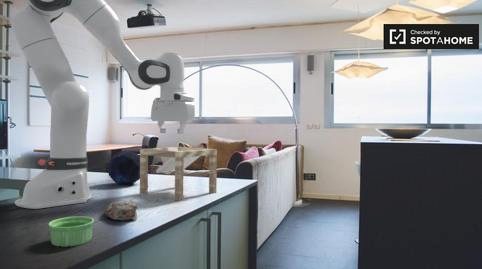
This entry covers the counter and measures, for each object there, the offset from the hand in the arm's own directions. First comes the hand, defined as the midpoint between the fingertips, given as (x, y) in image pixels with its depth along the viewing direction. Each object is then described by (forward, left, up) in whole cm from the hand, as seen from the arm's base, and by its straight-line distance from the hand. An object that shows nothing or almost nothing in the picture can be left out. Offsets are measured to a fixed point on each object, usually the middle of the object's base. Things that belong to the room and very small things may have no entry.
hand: (171, 133), depth 137 cm
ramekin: (-54, -25, -23) cm, 64 cm away
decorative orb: (0, +27, -23) cm, 35 cm away
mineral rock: (-35, -16, -23) cm, 45 cm away
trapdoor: (0, -5, -11) cm, 12 cm away
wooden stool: (0, -4, -22) cm, 23 cm away
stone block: (0, -1, -12) cm, 12 cm away
